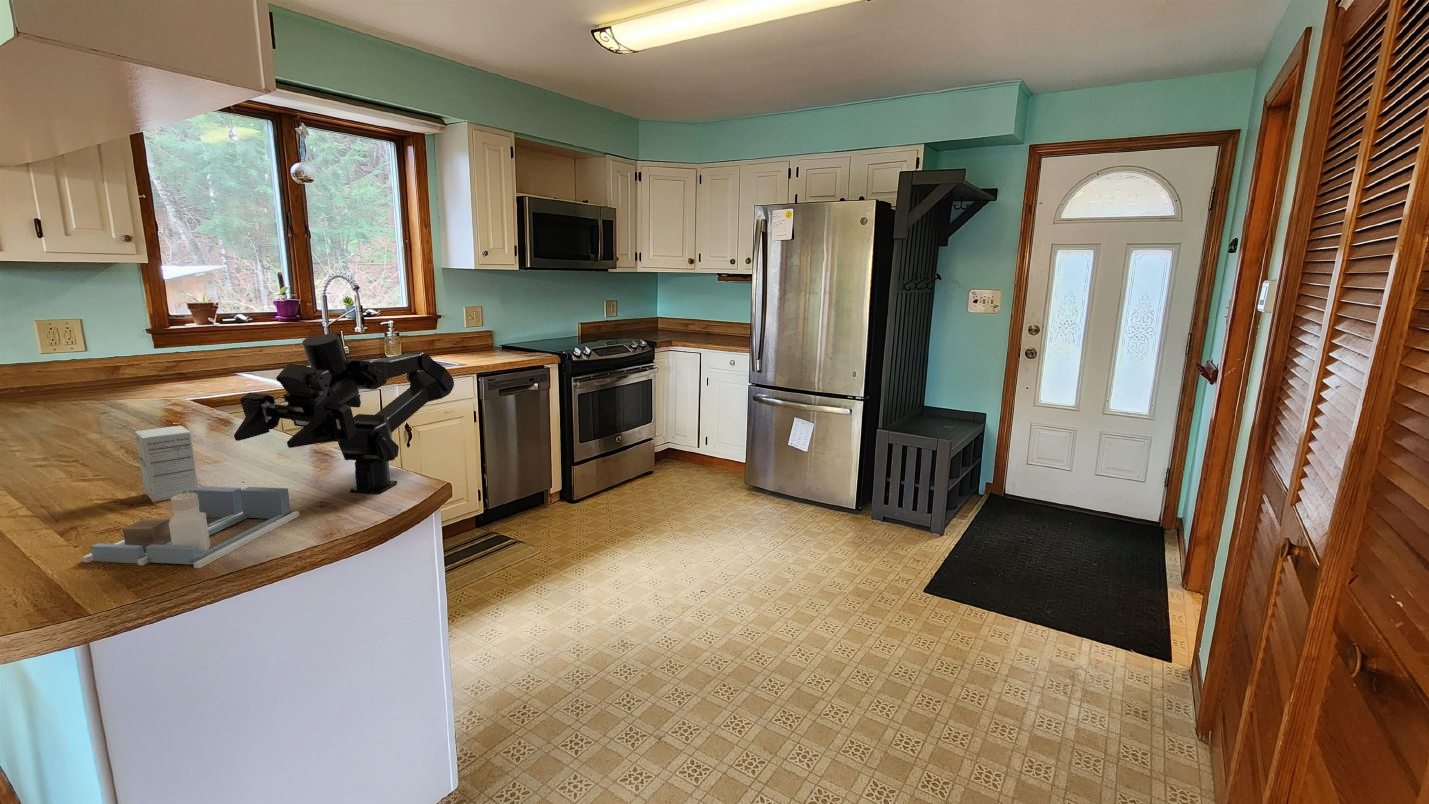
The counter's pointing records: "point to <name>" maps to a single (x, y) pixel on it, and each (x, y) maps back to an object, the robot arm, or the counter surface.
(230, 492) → the broken strip
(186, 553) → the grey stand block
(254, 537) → the lane rails
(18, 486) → the counter surface
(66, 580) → the counter surface
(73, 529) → the counter surface
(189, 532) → the pepper shaker
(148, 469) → the supplement box
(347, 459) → the robot arm
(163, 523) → the walnut cube
